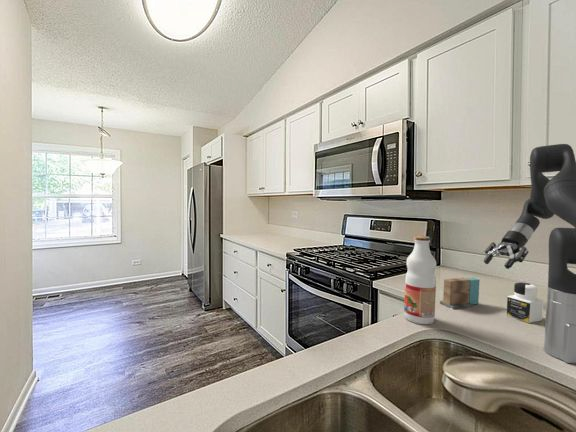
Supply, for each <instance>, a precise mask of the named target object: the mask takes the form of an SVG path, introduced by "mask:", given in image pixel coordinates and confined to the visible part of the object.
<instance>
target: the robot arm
mask: <svg viewBox="0 0 576 432" xmlns="http://www.w3.org/2000/svg"><path fill="white" fill-rule="evenodd" d="M575 155H576V154H575V153H574V150H573V148H572V146H571V145H570V144H567V143H558V144H557V143H556V144H550V145H542V146H537V147H534V148H533V149H532V150H531V152H530V156H529V175H530V184H531V186H530V187H531V188H530V197H529V198H528V199H527V200H526V201H524V204H523V208H522V211H521V214H520V216H519V218H517V220H516V221H515V223H514V224H513V225H512V226H511V227H510V228H509V229H508V230H507V232H506V233H505V234H504V236H503V237H502V238H501V242H500V243H498V244H497V243H495V242H491V243H489V245H488V246H487V248H486V249H485V250H484V251H483V252H484V254H485V257H484V258H483V263H484V264H485V265H489V264H490V262H491V261H492V259H493V258H495V257H500V256H506V257H509V258H508V259H507V261H505V263H504V264H503V265H504V268H505V269H507V270H510V269H511V268H512V267H513V265H514V264H516V263H517V262H519V263H522V262H524V260H525V259H526V257H527V256H528V254H529V252H530V251H529V250H528V249H527V247H526V245H527V243H528V242H529V241H530V239H531V238H532V236H533V234H534V233H535V231H536V230H537V229H538V227H539V226H540V223H541V222H540V220H539V219H543V220H548V219H551V218H553V217H554V216H556V217H558V218H560V219H561V220H563V221H565V222H566V223H568V224H570V225H571V226H572V227H554V228H553V229H551V231H550V233H549V235H548V236H549V237H548V276H547V277H548V279H547V295H546V296H547V297H546V307H545V326H544V343H543V350H544V351H545V352H546V353H547V354H549V356H552V357H554V358H557V359H559V360H561V361H563V362H565V363H566V364H576V273H574V272H572V271H571V270H570V269H569V268H568V264H569V265H576V157H575ZM553 172H554V173H556V172H557V173H556V174H555V175H554V176H553V177H551V178H550V179H549V178H548V177H547V176H546V175H544V174H545V173H553ZM497 251H498V252H497ZM517 253H518V254H517ZM516 254H517V255H516Z"/></svg>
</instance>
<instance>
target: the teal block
mask: <svg viewBox="0 0 576 432" xmlns="http://www.w3.org/2000/svg"><path fill="white" fill-rule="evenodd" d="M465 278H466V279H469V280H470V293H469V303H471V304H472V305H477V304H478V305H479V298H480V296H479V295H480V280H481V279H479V278H475V277H465Z"/></svg>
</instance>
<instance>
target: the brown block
mask: <svg viewBox="0 0 576 432" xmlns="http://www.w3.org/2000/svg"><path fill="white" fill-rule="evenodd" d="M466 278H467V277H458V278H445V279H443V293H442V294H443V295H442V296H443V297H442V298H443V299H442V300H440V301H439V304H440V305H443V306H445V307H446V308H450V309H451V308H452V310H455V309H456V310H457V309H465V308H472V307H473V304H471V303H469V293H470V280H469V279H466Z"/></svg>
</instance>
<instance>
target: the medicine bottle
mask: <svg viewBox="0 0 576 432" xmlns="http://www.w3.org/2000/svg"><path fill="white" fill-rule="evenodd" d="M513 287H514V289H513V293H514V294H512V295H508V296H507V298H506V299H507V300H506V316H507V317H510V318H512V319H515V320H518V321H521V322H525V323H527V324H531V323H537V322H541V321H542V320H543V307H544V300H543V299H539V298H537V296H538V294H537V293H538V287H537V286H536V285H534V284H531V283H527V282H516V283H515V284H514V286H513Z"/></svg>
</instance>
